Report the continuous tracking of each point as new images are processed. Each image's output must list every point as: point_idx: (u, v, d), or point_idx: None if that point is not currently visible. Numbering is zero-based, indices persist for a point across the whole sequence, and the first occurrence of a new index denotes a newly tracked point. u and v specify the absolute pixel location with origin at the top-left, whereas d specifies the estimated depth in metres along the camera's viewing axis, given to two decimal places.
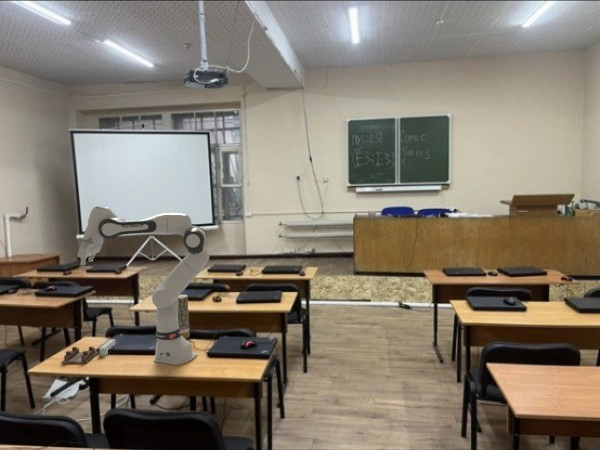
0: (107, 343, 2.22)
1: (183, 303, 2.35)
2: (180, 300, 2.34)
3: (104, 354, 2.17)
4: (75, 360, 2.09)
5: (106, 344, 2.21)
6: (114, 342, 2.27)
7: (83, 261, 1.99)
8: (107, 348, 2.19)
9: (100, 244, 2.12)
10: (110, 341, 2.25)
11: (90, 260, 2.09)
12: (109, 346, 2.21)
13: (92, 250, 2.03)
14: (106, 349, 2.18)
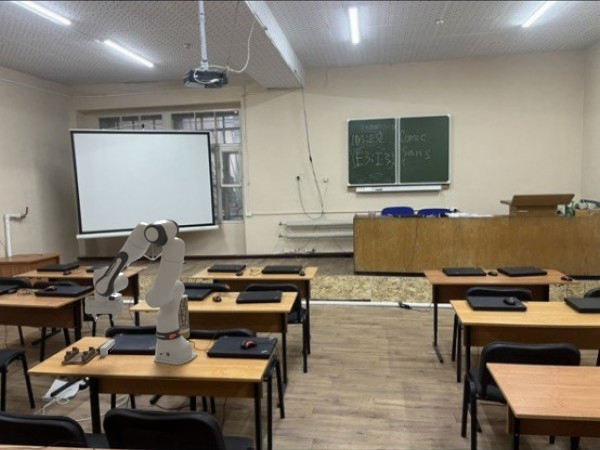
0: (107, 343, 2.22)
1: (183, 303, 2.35)
2: None
3: (105, 354, 2.17)
4: (75, 360, 2.09)
5: (106, 344, 2.21)
6: (113, 342, 2.27)
7: None
8: (108, 348, 2.19)
9: (116, 305, 2.18)
10: (110, 341, 2.25)
11: None
12: (109, 346, 2.21)
13: (99, 308, 2.18)
14: (107, 349, 2.18)
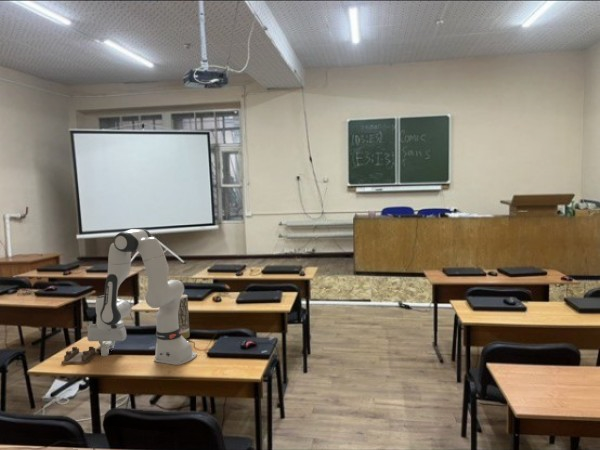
0: (107, 343, 2.22)
1: (183, 303, 2.35)
2: (180, 300, 2.34)
3: (106, 354, 2.17)
4: (75, 360, 2.09)
5: (106, 344, 2.21)
6: None
7: None
8: (108, 348, 2.19)
9: (118, 332, 2.19)
10: (109, 341, 2.25)
11: None
12: (109, 346, 2.21)
13: (101, 336, 2.20)
14: (107, 349, 2.18)
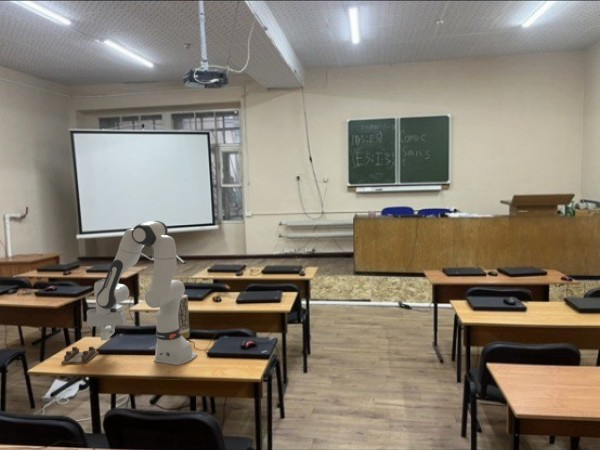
0: (107, 328, 2.21)
1: (183, 303, 2.35)
2: None
3: (105, 338, 2.16)
4: (75, 360, 2.09)
5: (106, 329, 2.20)
6: None
7: None
8: (108, 332, 2.18)
9: (118, 317, 2.18)
10: (109, 326, 2.24)
11: None
12: (109, 330, 2.20)
13: (101, 320, 2.19)
14: (107, 333, 2.17)
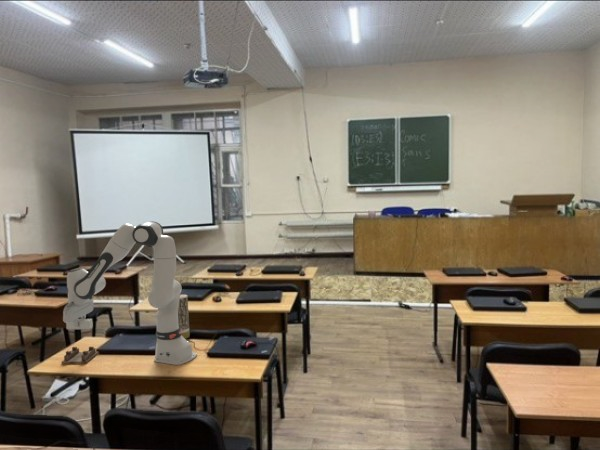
0: (78, 319, 2.12)
1: (183, 303, 2.35)
2: (180, 300, 2.34)
3: (92, 325, 2.14)
4: (75, 360, 2.09)
5: (81, 319, 2.13)
6: None
7: (75, 323, 2.09)
8: None
9: (90, 303, 2.19)
10: None
11: None
12: None
13: (79, 312, 2.10)
14: None
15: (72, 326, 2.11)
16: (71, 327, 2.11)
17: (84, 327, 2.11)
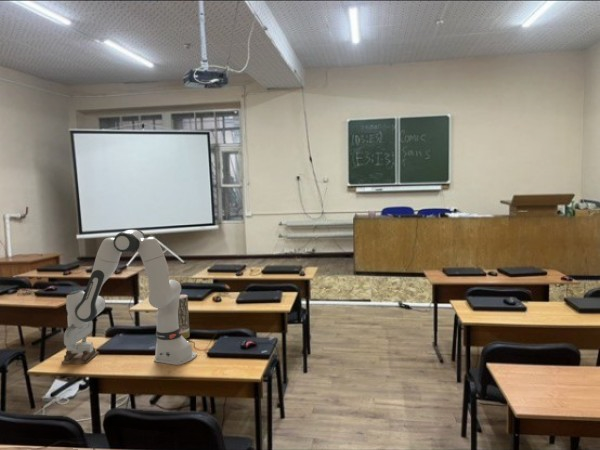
0: (78, 343, 2.13)
1: (183, 303, 2.35)
2: (180, 300, 2.34)
3: (92, 348, 2.15)
4: (75, 360, 2.09)
5: (82, 343, 2.13)
6: None
7: (74, 347, 2.08)
8: None
9: (89, 324, 2.19)
10: None
11: None
12: None
13: (79, 334, 2.10)
14: None
15: None
16: (71, 351, 2.11)
17: None
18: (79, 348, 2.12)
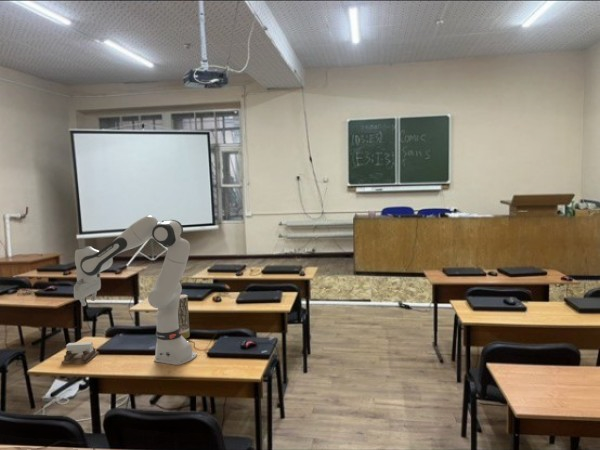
0: (78, 343, 2.13)
1: (183, 303, 2.35)
2: (180, 300, 2.34)
3: (92, 348, 2.15)
4: (75, 360, 2.09)
5: (82, 343, 2.13)
6: None
7: (83, 302, 2.08)
8: None
9: (98, 282, 2.21)
10: (73, 343, 2.13)
11: (93, 299, 2.18)
12: None
13: (88, 289, 2.11)
14: None
15: (73, 350, 2.11)
16: (71, 351, 2.11)
17: None
18: (79, 348, 2.12)
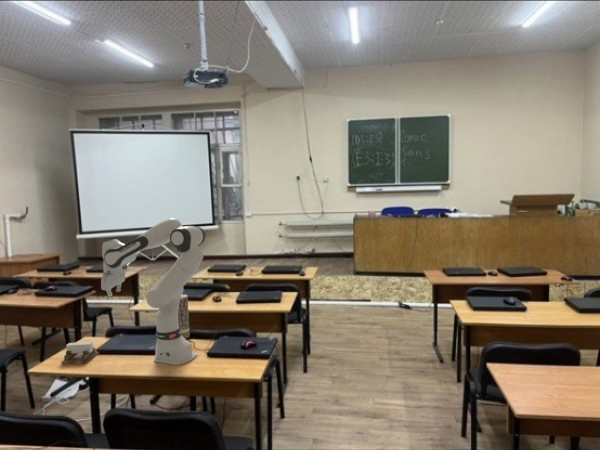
0: (78, 343, 2.13)
1: (183, 303, 2.35)
2: (180, 300, 2.34)
3: (92, 348, 2.15)
4: (75, 360, 2.09)
5: (82, 343, 2.13)
6: None
7: (109, 293, 2.16)
8: None
9: (122, 274, 2.29)
10: (73, 343, 2.13)
11: (118, 290, 2.26)
12: None
13: (114, 281, 2.20)
14: None
15: (73, 350, 2.11)
16: (71, 351, 2.11)
17: None
18: (79, 348, 2.12)
